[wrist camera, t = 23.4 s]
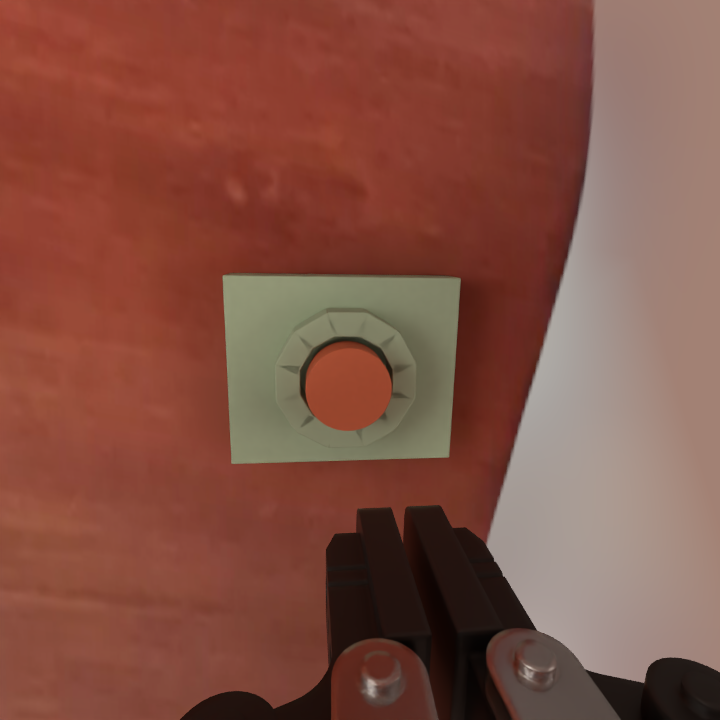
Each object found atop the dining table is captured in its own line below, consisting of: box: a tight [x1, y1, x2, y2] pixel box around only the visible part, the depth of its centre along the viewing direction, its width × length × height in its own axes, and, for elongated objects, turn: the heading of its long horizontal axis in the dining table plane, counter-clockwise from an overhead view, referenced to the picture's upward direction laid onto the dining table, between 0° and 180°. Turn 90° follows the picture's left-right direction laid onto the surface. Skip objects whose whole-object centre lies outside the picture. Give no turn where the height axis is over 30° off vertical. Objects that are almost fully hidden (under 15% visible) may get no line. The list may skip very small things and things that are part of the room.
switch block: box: [223, 273, 461, 464], centre depth 25 cm, size 12×10×4 cm
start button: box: [305, 341, 392, 431], centre depth 22 cm, size 4×4×2 cm
